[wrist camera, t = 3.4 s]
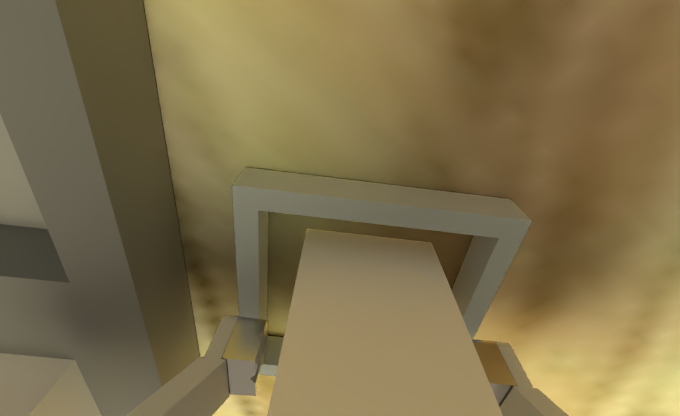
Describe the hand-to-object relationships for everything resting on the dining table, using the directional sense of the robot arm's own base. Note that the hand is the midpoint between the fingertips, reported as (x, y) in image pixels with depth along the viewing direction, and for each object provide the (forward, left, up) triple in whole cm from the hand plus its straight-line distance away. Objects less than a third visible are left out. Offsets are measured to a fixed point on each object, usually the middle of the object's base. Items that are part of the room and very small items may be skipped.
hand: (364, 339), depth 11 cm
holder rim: (0, 0, -3) cm, 3 cm away
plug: (0, 0, -3) cm, 3 cm away
